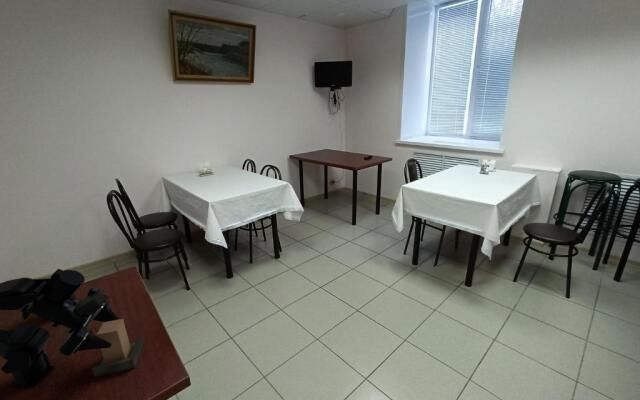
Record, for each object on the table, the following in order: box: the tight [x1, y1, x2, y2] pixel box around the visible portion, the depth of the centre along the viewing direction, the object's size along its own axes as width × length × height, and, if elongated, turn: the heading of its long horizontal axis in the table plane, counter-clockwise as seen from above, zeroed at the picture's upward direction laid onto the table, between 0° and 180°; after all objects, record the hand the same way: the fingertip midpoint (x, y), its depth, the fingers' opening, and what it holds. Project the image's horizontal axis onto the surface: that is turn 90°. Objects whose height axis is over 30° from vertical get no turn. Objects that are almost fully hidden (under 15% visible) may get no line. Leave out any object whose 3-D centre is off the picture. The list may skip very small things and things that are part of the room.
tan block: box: [96, 318, 131, 363], centre depth 86 cm, size 5×5×11 cm
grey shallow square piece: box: [91, 334, 144, 378], centre depth 87 cm, size 10×10×3 cm
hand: (116, 334), depth 85 cm, fingers open, 9 cm apart
